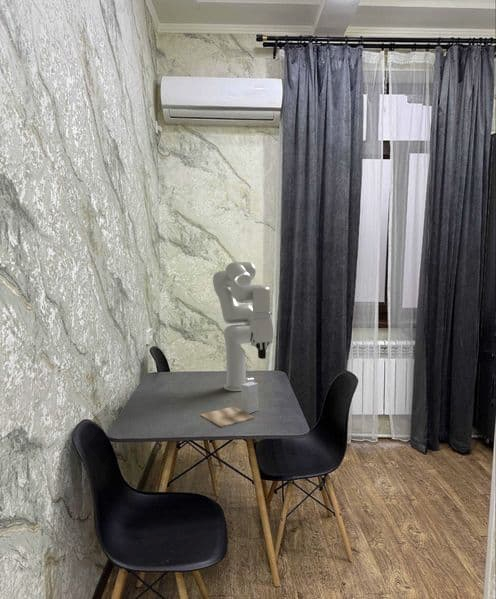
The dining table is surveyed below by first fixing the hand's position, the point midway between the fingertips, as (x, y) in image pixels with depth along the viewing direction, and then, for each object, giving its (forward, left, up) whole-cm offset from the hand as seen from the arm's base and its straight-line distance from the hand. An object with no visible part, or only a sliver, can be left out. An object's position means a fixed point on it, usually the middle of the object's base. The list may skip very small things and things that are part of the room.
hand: (261, 358), depth 192 cm
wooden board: (+18, 0, -22) cm, 28 cm away
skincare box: (+7, 0, -22) cm, 23 cm away
